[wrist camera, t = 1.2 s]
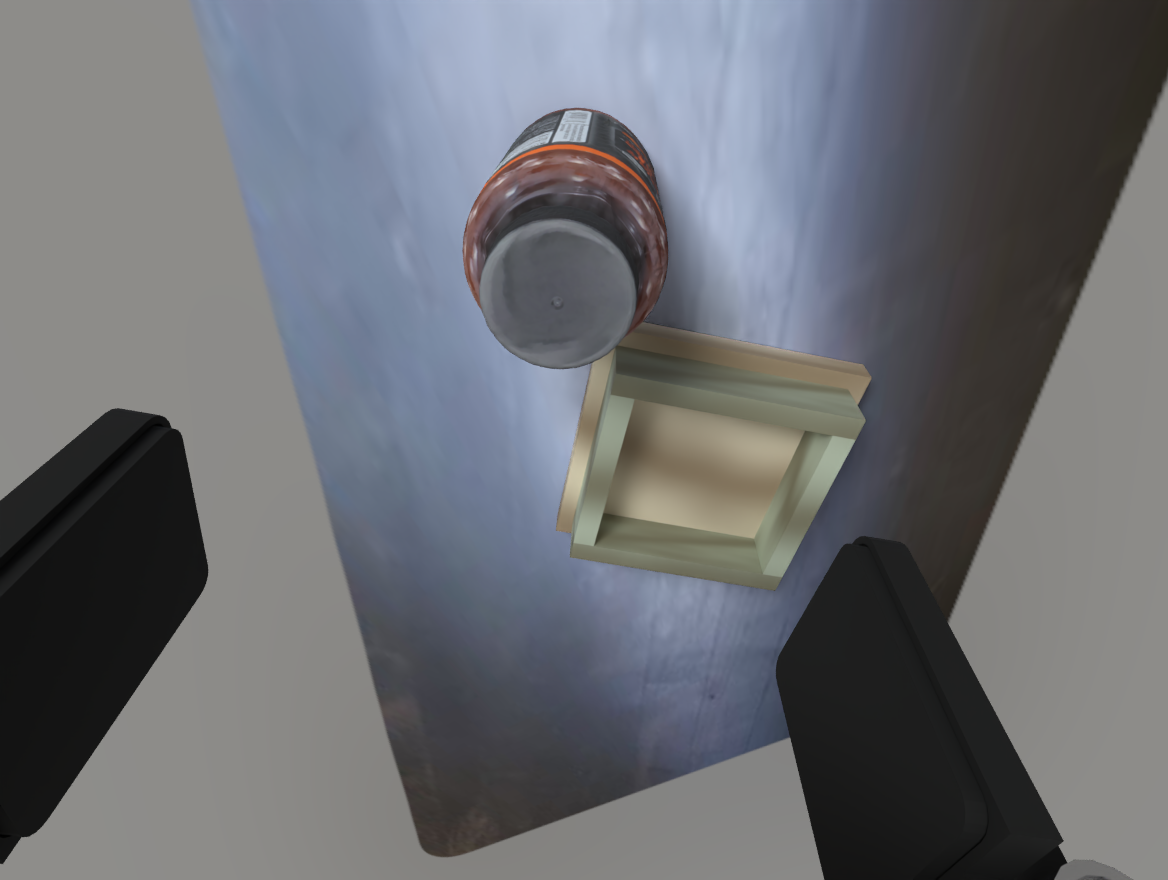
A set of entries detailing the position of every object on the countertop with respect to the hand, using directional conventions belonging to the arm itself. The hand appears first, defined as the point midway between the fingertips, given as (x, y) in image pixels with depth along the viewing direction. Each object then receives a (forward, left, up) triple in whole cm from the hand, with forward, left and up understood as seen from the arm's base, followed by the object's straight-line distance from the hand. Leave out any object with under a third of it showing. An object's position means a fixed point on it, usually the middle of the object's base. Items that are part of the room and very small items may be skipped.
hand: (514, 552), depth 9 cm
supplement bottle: (0, 0, -20) cm, 20 cm away
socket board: (+11, +8, -20) cm, 24 cm away
